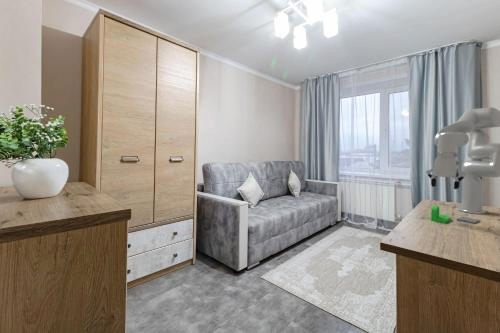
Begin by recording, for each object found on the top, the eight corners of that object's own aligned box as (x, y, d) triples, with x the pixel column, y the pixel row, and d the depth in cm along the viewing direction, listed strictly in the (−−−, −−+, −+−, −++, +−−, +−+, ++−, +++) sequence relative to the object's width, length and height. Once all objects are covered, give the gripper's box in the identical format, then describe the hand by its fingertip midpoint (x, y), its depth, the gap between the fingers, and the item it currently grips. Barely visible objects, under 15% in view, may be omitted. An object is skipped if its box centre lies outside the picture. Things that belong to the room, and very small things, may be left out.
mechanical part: (445, 224, 119) (445, 209, 118) (430, 221, 124) (431, 206, 123) (452, 220, 126) (452, 205, 125) (438, 217, 131) (439, 203, 130)
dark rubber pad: (463, 218, 128) (463, 216, 128) (480, 221, 122) (480, 220, 122) (456, 220, 124) (456, 218, 124) (474, 223, 118) (474, 222, 118)
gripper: (470, 156, 116) (468, 189, 117) (430, 155, 131) (429, 185, 132) (464, 156, 112) (462, 190, 113) (424, 155, 127) (422, 186, 128)
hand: (444, 187), depth 123 cm, fingers open, 9 cm apart
